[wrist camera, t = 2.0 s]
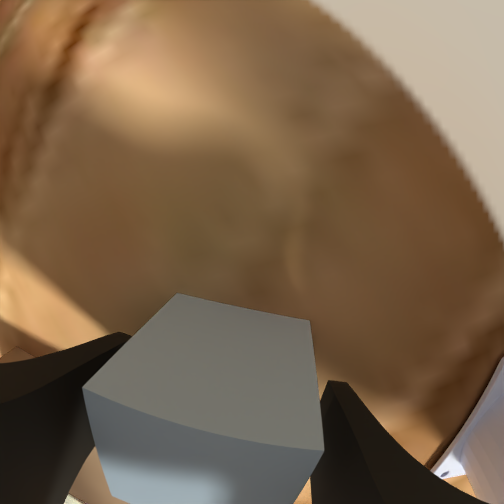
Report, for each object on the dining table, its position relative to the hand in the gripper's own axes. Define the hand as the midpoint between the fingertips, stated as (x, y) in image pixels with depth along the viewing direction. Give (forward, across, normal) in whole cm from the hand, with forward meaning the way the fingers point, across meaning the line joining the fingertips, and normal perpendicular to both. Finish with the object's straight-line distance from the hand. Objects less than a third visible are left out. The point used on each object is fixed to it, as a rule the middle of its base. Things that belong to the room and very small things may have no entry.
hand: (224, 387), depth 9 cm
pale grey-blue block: (+2, 0, 0) cm, 2 cm away
